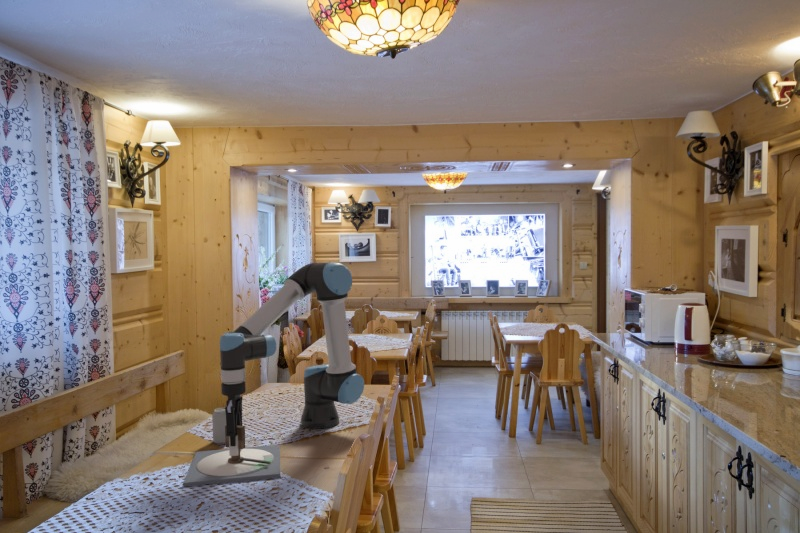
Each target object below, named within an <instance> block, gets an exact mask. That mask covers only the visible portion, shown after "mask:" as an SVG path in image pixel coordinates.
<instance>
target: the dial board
mask: <svg viewBox="0 0 800 533" xmlns="http://www.w3.org/2000/svg"><path fill="white" fill-rule="evenodd" d="M280 448H281V446H280V444H271V445H261V446H260V445H259V446H247V447H246V446H245V448H244V449H241V451H240V456H241V457H243V458H248V459H255V460H263V461H270V464H265V463H257V462H250V461H243V462H241V463H236V464H231V463H228V459H229V458H231V456H230V455H229V448H225V449H224V448H223V449H213V450H200V451H196V452H195V454H194V457H193V459H192V461H191V464H190V467H189V469H188V471H187V475H186V477H185V480H184V482H183V485H184V486H183V487H184V488H186V487H185V486H188V487H194V486H193V485H199V486H204V485H203V484H209V485H217V484H216V483H219V484H227V483H228V482H230V483H237V482H247V481H249V482H250V481H258V480H259V481H260V480H269V479H277V478H280V479H281V449H280Z"/></svg>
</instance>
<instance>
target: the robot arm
mask: <svg viewBox="0 0 800 533" xmlns="http://www.w3.org/2000/svg"><path fill="white" fill-rule="evenodd" d="M283 282H284V283H283V286H282V287H281V288H279V290H277V291H276V292H275V293H274V294H273V295H272V296H271V297H269V299H267V300H266V301H265V302H264V303H263V304H262V305H261V306H260V307H259V308H257V310H256V311H255V312H253V313H251V315H249V317H248V318H247V319H245V321H244V322H242V323H241V324H240V325H239V326H238V327H237V328H236V329H235V330H234V331H228V332H225V333H224V334H222V335H221V336H220V338H219V354H220V355H219V357H220V358H219V359H220V371H219V375H221V376H220V378H221V379H220V380H221V385H220V386H221V388H220V389H221V395H223V396H226V397H227V400H226V403H225V404H226V406H225V412H226V427H227V434H226V436H229V448H228V449H229V455H230V456H238V455H239V453H238V435H237V425H238V426H244V425H243V399H244V398H243V396H241V395H243V394H245V393H246V391H247V390H246V381H245V380H246V362H248V361H252V360H258V359H266V358H268V357H272V356H274V355H275V353H276V351H277V342H276V339H275V337H274V336H273V335H271V334H264V333H265V332H266V331H267V330H268V329H269V328H270V327H271V326H272V325H273V324H274V323H275V322H276V321H278V319H280V317H281V316H283V314H284V313H286V312H287V311H288V310H289V309H290V308H291V307H292V306H293V305H294V304H295V303H296V302H298V301H302V300H303V299H304V298H305V297H306V296H309V295H310V294H315V296H316V300H317V302H318V303H320V305H321V309H322V318H323V326H324V334H325V335H324V336H325V343H326V350H327V351H326V352H327V357H328V358H327V359H328V364H317V365H313V366H307V367H306V368H305V369H304V371H303V383H304V384H303V385H304V387H303V388H304V389H303V390H304V392H303V393H304V407H303V411H302V414H301V418H300V425H301V427H304V428H307V429H317V430H318V429H326V428H331V427H334V426H336V425H338V424H339V423H340V417H339V413H338V409H337V407H336V404H335V403H340V404H343V405H344V404H346V405H352V404H354V403H356V402H358V401H359V399H360V398H361V396H362V394H363V393H364V389H365V380H364V378H363V376H362V375H360V374H359V373H357V366H356V364H354V363H353V362H352V355H351V347H350V339H349V329H348V321H347V315H346V314H347V311H346V304H345V301H346V299H348V296H349V294H348V292H350V291H351V287H352V286H353V276H352V273H351V271H350V269H349V268H348V267H347V266H346V265H344V264H342V263H341V262H340V263H338V262H334V261H333V262H311V263H307V264H305V265H304V266H302V267H300V268H299V269H298V270H296V271H295V272H294V273H292V274H290V276H288V277H287V279H285V280H284V281H283ZM240 451H241V449H240Z"/></svg>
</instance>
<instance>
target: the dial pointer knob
mask: <svg viewBox="0 0 800 533" xmlns="http://www.w3.org/2000/svg"><path fill="white" fill-rule="evenodd" d="M226 434H227V427H226V426H225V442H226V444H225V448H226V449H229V436H226ZM237 435H238V453H239V455H238V456H231V458H229V459H228V463H231V464H236V463H241V462H243V461H250V462H257V463H265V464H270V461H263V460H255V459H248V458H243V457H241V456H240V449H244V448H245V447H246V426H244V425H242V426H238V425H237Z"/></svg>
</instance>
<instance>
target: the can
mask: <svg viewBox="0 0 800 533" xmlns="http://www.w3.org/2000/svg"><path fill="white" fill-rule="evenodd" d="M211 414H212V415H211V417H212V418H211V419H212V421H211V422H212V423H211V424H212V441H213V442H214V443H215V444H217V445H226V442H225V426H226V412H225V407H217V408H215V409H214V410H213V413H211Z"/></svg>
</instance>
